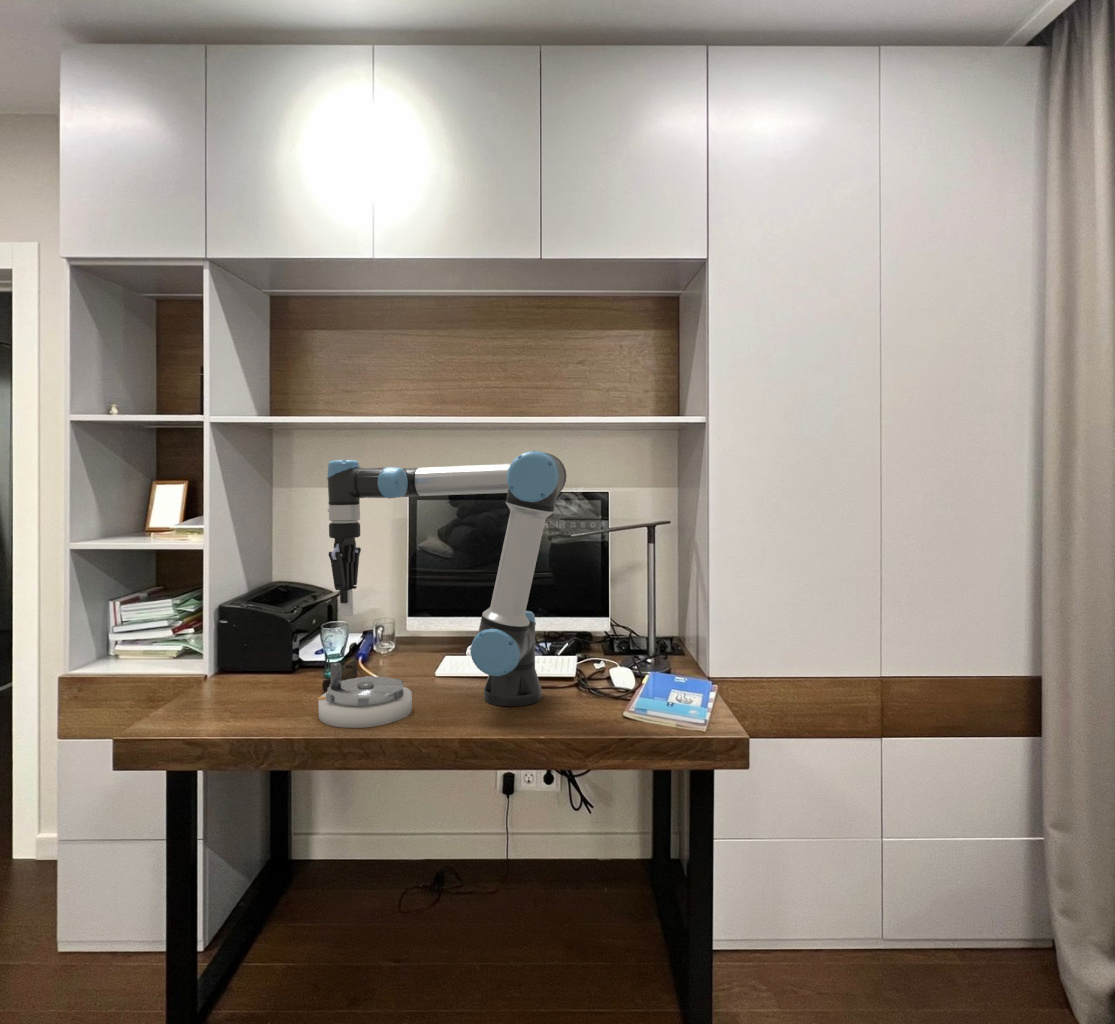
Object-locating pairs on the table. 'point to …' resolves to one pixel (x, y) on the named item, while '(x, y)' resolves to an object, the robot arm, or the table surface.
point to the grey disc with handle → (362, 689)
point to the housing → (365, 712)
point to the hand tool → (343, 674)
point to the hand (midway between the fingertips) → (346, 615)
